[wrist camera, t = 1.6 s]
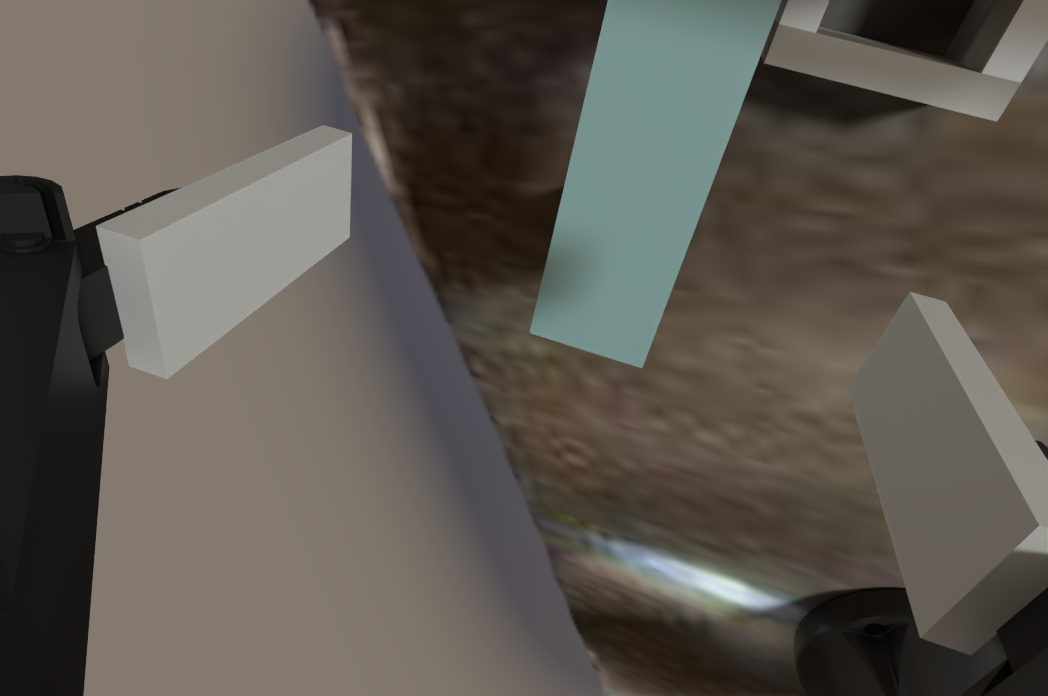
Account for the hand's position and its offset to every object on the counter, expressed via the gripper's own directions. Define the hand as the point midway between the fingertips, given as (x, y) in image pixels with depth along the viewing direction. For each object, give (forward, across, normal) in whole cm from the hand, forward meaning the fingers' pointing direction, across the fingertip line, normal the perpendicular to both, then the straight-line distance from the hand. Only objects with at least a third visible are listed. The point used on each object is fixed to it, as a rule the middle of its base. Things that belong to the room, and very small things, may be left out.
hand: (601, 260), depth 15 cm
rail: (+22, 0, 0) cm, 22 cm away
